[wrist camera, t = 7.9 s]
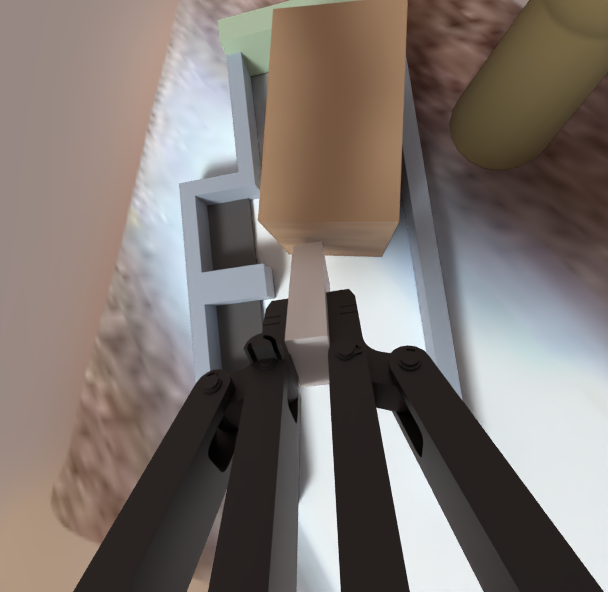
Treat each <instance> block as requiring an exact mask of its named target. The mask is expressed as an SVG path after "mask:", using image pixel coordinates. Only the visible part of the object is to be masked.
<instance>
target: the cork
mask: <svg viewBox="0 0 608 592" xmlns="http://www.w3.org/2000/svg"><path fill="white" fill-rule="evenodd" d="M607 73H608V0H529V1H528V3H527V4H526V6H525V7H524V8H523V10H522V11H521V13H520V14H519V15H518V17H517V18H516V20H515V21H514V22H513V24H512V25H511V27H510V28H509V30H508V31H507V32H506V34H505V35H504V37H503V38H502V39H501V41H500V42H499V44H498V45H497V46H496V48H495V49H494V51H493V52H492V53H491V55H490V56H489V58H488V59H487V60H486V62H485V63H484V65H483V66H482V68H481V69H480V70H479V72H478V73H477V75H476V76H475V77H474V79H473V80H472V82H471V83H470V84H469V86H468V87H467V89H466V90H465V91H464V93H463V94H462V96H461V97H460V99H459V100H458V102H457V104H456V105H455V107H454V109H453V111H452V116H451V120H450V131H451V138H452V140H453V142H454V144H455V146H456V148H457V150H458V151H459V152H460V153H461V154H462V155H463V156H464V157H465V158H466V159H467V160H469V161H470V162H472V163H474V164H476V165H479V166H481V167H483V168H489V169H496V170H503V169H510V168H517V167H519V166H521V165H523V164H526V163H528V162H530V161H532V160H533V159H534V158H536V157H537V156H538V155H539V154H540V153H541V152H542V151H544V150H545V148H546V147H547V146H548V145H549V144H550V142H551V141H552V140H553V139H554V137H555V136H556V135H557V134H558V133H559V131H560V130H561V129H562V128H563V127H564V125H565V124H566V123H567V122H568V120H569V119H570V118H571V117H572V116H573V114H574V113H575V112H576V111H577V109H578V108H579V107H580V106H581V105H582V103H583V102H584V101H585V100H586V99H587V97H588V96H589V95H590V94H591V92H592V91H593V90H594V89H595V88H596V86H597V85H598V84H599V83H600V82H601V80H602V79H603V78H604V77H605V75H606V74H607Z"/></svg>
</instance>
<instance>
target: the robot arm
mask: <svg viewBox="0 0 608 592" xmlns="http://www.w3.org/2000/svg"><path fill="white" fill-rule="evenodd" d="M263 325H264V326H263V330H262V333H260V334H257V335H255V336H253V337H252V338H250V339H249V340H248V341H247V342H246V344H245V346H244V348H243V349H244V351H245V353H246V355H247V357H248V359H249V361H250V363H251V364H250V365H249V366H247V367H245V368H243V369H241V370H239V371H236V372H234V373H231V374H228V373H227V371H225V370H222V369H216V370H212V371H209V372H207V373H206V374H204V375H203V376H202V377H201V378H200V379H199V380H198V381H197V383H196V384H195V386H194V388H193V389H192V391H191V393H190V394H189V396H188V398H187V400H186V401H185V403H184V405H183V406H182V408H181V410H180V411H179V413H178V415H177V417H176V418H175V420H174V422H173V423H172V425H171V427H170V428H169V430H168V432H167V433H166V435H165V437H164V439H163V440H162V442H161V444H160V445H159V447H158V449H157V450H156V452H155V454H154V456H153V457H152V459H151V461H150V462H149V464H148V466H147V467H146V469H145V471H144V473H143V474H142V476H141V478H140V479H139V481H138V483H137V484H136V486H135V488H134V489H133V491H132V493H131V495H130V496H129V498H128V500H127V501H126V503H125V505H124V506H123V508H122V510H121V512H120V513H119V515H118V517H117V518H116V520H115V522H114V523H113V525H112V527H111V528H110V530H109V532H108V534H107V535H106V537H105V539H104V540H103V542H102V544H101V545H100V547H99V549H98V551H97V552H96V554H95V556H94V557H93V559H92V561H91V563H90V564H89V566H88V568H87V569H86V571H85V573H84V574H83V576H82V578H81V579H80V581H79V583H78V584H77V586H76V588H75V590H74V591H73V592H187V589H188V587H189V584H190V582H191V579H192V577H193V574H194V572H195V569H196V566H197V564H198V561H199V559H200V556H201V554H202V551H203V548H204V546H205V543H206V541H207V538H208V536H209V533H210V531H211V528H212V525H213V523H214V520H215V518H216V515H217V513H218V510H219V507H220V505H221V502H222V500H223V497H224V495H225V492H226V489H227V493H226V498H225V503H224V509H223V514H222V520H221V525H220V530H219V536H218V541H217V546H216V552H215V557H214V562H213V568H212V573H211V578H210V584H209V590H208V592H296V583H297V541H298V498H299V456H300V414H301V399H300V394H299V391H298V381H299V383H300V386H301V387H307V386H317V385H326V384H329V385H330V404H331V422H332V440H333V458H334V476H335V494H336V512H337V530H338V548H339V566H340V584H341V592H410V591H409V585H408V580H407V574H406V569H405V563H404V558H403V552H402V547H401V541H400V536H399V530H398V525H397V519H396V514H395V508H394V503H393V497H392V492H391V486H390V481H389V476H388V470H387V465H386V459H385V454H384V448H383V443H382V437H381V432H380V426H379V421H378V415H377V410H376V407H377V408H381V409H386V410H390V411H392V412H393V414H394V416H395V418H396V420H397V422H398V424H399V426H400V428H401V430H402V432H403V434H404V436H405V438H406V440H407V442H408V444H409V446H410V448H411V450H412V452H413V454H414V456H415V457H416V459H417V461H418V463H419V465H420V467H421V469H422V471H423V473H424V475H425V477H426V479H427V481H428V483H429V485H430V487H431V489H432V491H433V493H434V495H435V497H436V499H437V501H438V503H439V505H440V507H441V509H442V511H443V513H444V515H445V517H446V518H447V520H448V522H449V524H450V526H451V528H452V530H453V532H454V534H455V536H456V538H457V540H458V542H459V544H460V546H461V548H462V550H463V552H464V554H465V556H466V558H467V560H468V562H469V564H470V566H471V568H472V570H473V572H474V574H475V576H476V578H477V580H478V581H479V583H480V585H481V587H482V589H483V591H484V592H604V591H603V590H602V589H601V587H600V586H599V585H598V583H597V582H596V581H595V579H594V578H593V577H592V575H591V574H590V572H589V571H588V570H587V568H586V567H585V566H584V564H583V563H582V562H581V560H580V559H579V558H578V556H577V555H576V554H575V552H574V551H573V549H572V548H571V547H570V545H569V544H568V543H567V541H566V540H565V539H564V537H563V536H562V535H561V533H560V532H559V531H558V529H557V528H556V526H555V525H554V524H553V522H552V521H551V520H550V518H549V517H548V516H547V514H546V513H545V512H544V510H543V509H542V508H541V506H540V505H539V503H538V502H537V501H536V499H535V498H534V497H533V495H532V494H531V493H530V491H529V490H528V489H527V487H526V486H525V485H524V483H523V482H522V481H521V479H520V478H519V476H518V475H517V474H516V472H515V471H514V470H513V468H512V467H511V466H510V464H509V463H508V462H507V460H506V459H505V458H504V456H503V455H502V453H501V452H500V451H499V449H498V448H497V447H496V445H495V444H494V443H493V441H492V440H491V439H490V437H489V436H488V435H487V433H486V432H485V430H484V429H483V428H482V426H481V425H480V424H479V422H478V421H477V420H476V418H475V417H474V416H473V414H472V413H471V412H470V410H469V409H468V407H467V406H466V405H465V403H464V402H463V401H462V399H461V398H460V397H459V395H458V394H457V393H456V391H455V390H454V389H453V387H452V386H451V384H450V383H449V382H448V380H447V379H446V378H445V376H444V375H443V374H442V372H441V371H440V370H439V368H438V367H437V366H436V364H435V363H434V362H433V360H432V359H431V357H430V356H429V355H428V354H427V353H426V352H425V351H424V350H422V349H420V348H418V347H415V346H402V347H399V348H397V349H395V350H393V351H392V353H385V352H380V351H376V350H374V349H372V348H370V347H369V346H367V345H366V343H365V342H364V340H363V337H362V331H361V326H360V321H359V315H358V310H357V304H356V299H355V295H354V294H353V293H352V292H351V291H350V290H349V289H345V290H338V291H332V292H330V283H329V278H328V272H327V267H326V262H325V256H324V251H323V246H322V241H318V242H312V243H306V244H300V245H294V246H293V251H292V262H291V274H290V285H289V297H288V299H283V300H276V301H271V303H270V304H269V306H268V307H267V309H266V312H265V319H264V324H263Z"/></svg>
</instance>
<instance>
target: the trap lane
mask: <svg viewBox="0 0 608 592" xmlns="http://www.w3.org/2000/svg"><path fill="white" fill-rule="evenodd" d="M349 1H359V0H290V1H287V2H283V3H279V4H276V5H272V6H268V7H264V8H261V9H257V10H253V11H250V12H246V13H242V14H239V15H235V16H231V17H227V18H224V19H220V20H218V29H219V38H220V43H221V45H222V48H223V50H224V52H225V54H226V58H227V68H228V77H229V87H230V97H231V107H232V117H233V126H234V136H235V146H236V156H237V166H238V172H236V173H231V174H226V175H221V176H216V177H211V178H205V179H200V180H195V181H190V182H185V183H180V184H179V188H180V200H181V212H182V224H183V236H184V248H185V261H186V273H187V285H188V297H189V309H190V321H191V334H192V346H193V358H194V370H195V382H196V383H197V381H198V380H199V379H200V378H201V377H202V376H203V375H204V374H206V373H207V372H209V371H212V370H216V369H222V370H225V371H227V373H228V374H231V373H234V372H236V371H239V370H241V369H243V368H245V367H247V366H249V365H250V364H251V363H250V361H249V359H248V357H247V355H246V353H245V351H244V349H243V348H244V346H245V344H246V342H247V341H248V340H249V339H250V338H252V337H253V336H255V335H257V334H260V333H262V330H263V318H262V309H261V300H267V299H274V298H275V293H274V284H273V274H272V269H271V268H270V267H268V266H267V265H265V264H264V263H262V264H257V261H256V252H255V242H254V233H253V223H252V214H251V204H250V200H251V199H257V198H260V186H261V165H260V156H259V147H258V138H257V128H256V119H255V110H254V101H253V92H252V83H251V76H254V75H258V74H262V73H267V72H269V59H270V45H271V31H272V17H273V9H278V8H288V7H298V6H308V5H318V4H329V3H339V2H349ZM401 190H402V197H403V203H404V210H405V216H406V223H407V229H408V236H409V242H410V248H411V255H412V261H413V268H414V274H415V281H416V287H417V294H418V300H419V307H420V313H421V319H422V326H423V332H424V339H425V345H426V352H427V354H428V355H429V356H430V357H431V359H432V360H433V362H434V363H435V364H436V366H437V367H438V368H439V370H440V371H441V372H442V374H443V375H444V376H445V378H446V379H447V380H448V382H449V383H450V384H451V386H452V387H453V389H454V390H455V391H456V393H457V394H458V395H459V397H460V398H461V399H462V394H461V388H460V382H459V376H458V370H457V364H456V357H455V351H454V345H453V339H452V333H451V327H450V321H449V315H448V309H447V302H446V296H445V290H444V284H443V278H442V272H441V266H440V260H439V254H438V247H437V241H436V235H435V229H434V223H433V217H432V211H431V205H430V199H429V192H428V186H427V180H426V174H425V168H424V162H423V156H422V150H421V144H420V137H419V131H418V125H417V119H416V113H415V107H414V101H413V95H412V89H411V82H410V76H409V70H408V64H407V58H406V56H405V82H404V108H403V134H402V160H401ZM462 401H463V400H462Z"/></svg>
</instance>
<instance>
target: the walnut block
mask: <svg viewBox="0 0 608 592" xmlns="http://www.w3.org/2000/svg"><path fill="white" fill-rule="evenodd" d="M407 4H408V0H359V1H349V2H339V3H329V4H318V5H308V6H298V7H288V8H278V9H273V17H272V31H271V45H270V59H269V73H268V87H267V101H266V115H265V129H264V143H263V157H262V171H261V186H260V200H259V214H258V221H259V222H260V223H261V224H262V225H263V226H264V228H265V229H266V230H267V231H268V232H269V233H270V234H271V235H272V236H273V237H274V238H275V239H276V241H277V242H278V243H279V244H280V245H281V246H282V247H283V248H284V249H285V250H286V251H287V252H288V253H289V254H292V251H293V246H294V245H300V244H306V243H312V242H318V241H322V246H323V251H324V255H334V256H370V257H382V255H383V253H384V251H385V249H386V247H387V245H388V243H389V241H390V239H391V237H392V235H393V233H394V231H395V229H396V227H397V225H398V223H399V212H400V186H401V160H402V134H403V108H404V82H405V56H406V30H407Z"/></svg>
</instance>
